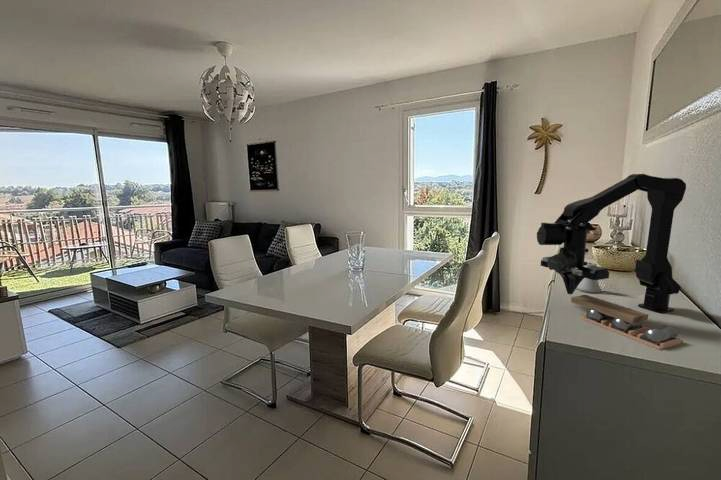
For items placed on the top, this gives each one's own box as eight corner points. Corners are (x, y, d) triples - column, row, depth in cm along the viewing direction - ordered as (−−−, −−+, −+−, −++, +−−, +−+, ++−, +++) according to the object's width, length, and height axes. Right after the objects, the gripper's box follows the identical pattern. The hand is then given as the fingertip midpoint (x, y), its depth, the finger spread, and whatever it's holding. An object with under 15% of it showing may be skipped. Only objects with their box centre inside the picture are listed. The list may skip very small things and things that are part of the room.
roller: (675, 343, 84) (679, 330, 83) (656, 348, 81) (660, 335, 80) (658, 335, 87) (662, 323, 86) (641, 340, 84) (644, 327, 83)
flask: (591, 294, 118) (594, 266, 116) (572, 288, 125) (574, 262, 123) (605, 291, 121) (608, 264, 119) (585, 286, 127) (587, 260, 126)
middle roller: (630, 328, 93) (627, 315, 94) (644, 328, 90) (640, 315, 90) (613, 332, 91) (609, 319, 91) (626, 333, 87) (623, 319, 88)
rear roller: (607, 320, 99) (600, 308, 100) (617, 317, 96) (611, 305, 97) (590, 324, 96) (583, 312, 98) (600, 320, 93) (594, 308, 95)
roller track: (603, 314, 101) (603, 310, 101) (683, 343, 83) (684, 338, 83) (580, 318, 98) (581, 314, 98) (659, 349, 80) (660, 345, 80)
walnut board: (584, 299, 104) (585, 294, 104) (647, 320, 88) (648, 314, 88) (570, 302, 102) (571, 297, 102) (632, 323, 86) (633, 317, 86)
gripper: (529, 241, 109) (526, 288, 112) (585, 253, 92) (579, 307, 94) (555, 239, 113) (551, 284, 115) (613, 249, 95) (607, 302, 98)
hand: (569, 294), depth 106 cm, fingers closed
